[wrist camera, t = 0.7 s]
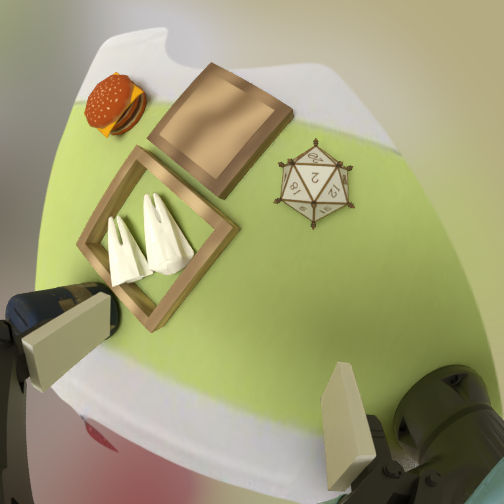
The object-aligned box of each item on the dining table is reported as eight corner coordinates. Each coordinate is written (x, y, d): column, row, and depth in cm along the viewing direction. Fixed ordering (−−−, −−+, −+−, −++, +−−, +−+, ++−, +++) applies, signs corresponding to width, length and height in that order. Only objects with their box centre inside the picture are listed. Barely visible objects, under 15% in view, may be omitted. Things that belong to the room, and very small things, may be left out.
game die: (300, 192, 38) (249, 152, 31) (354, 160, 33) (312, 109, 26) (315, 250, 33) (259, 216, 26) (380, 219, 29) (339, 169, 22)
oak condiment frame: (240, 228, 36) (232, 227, 32) (163, 326, 39) (151, 333, 35) (149, 151, 38) (136, 144, 35) (90, 244, 41) (75, 244, 38)
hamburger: (158, 97, 38) (135, 79, 31) (121, 146, 40) (94, 135, 33) (127, 77, 39) (105, 61, 33) (94, 122, 41) (69, 110, 34)
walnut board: (294, 117, 34) (292, 108, 31) (224, 200, 36) (217, 197, 33) (216, 70, 36) (210, 61, 33) (155, 143, 38) (145, 138, 35)
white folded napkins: (199, 268, 37) (183, 187, 37) (186, 270, 33) (169, 180, 33) (127, 284, 39) (115, 212, 40) (109, 287, 35) (97, 208, 36)
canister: (107, 348, 41) (26, 387, 24) (75, 308, 43) (-7, 329, 25) (132, 311, 40) (40, 344, 22) (95, 268, 41) (3, 279, 24)
